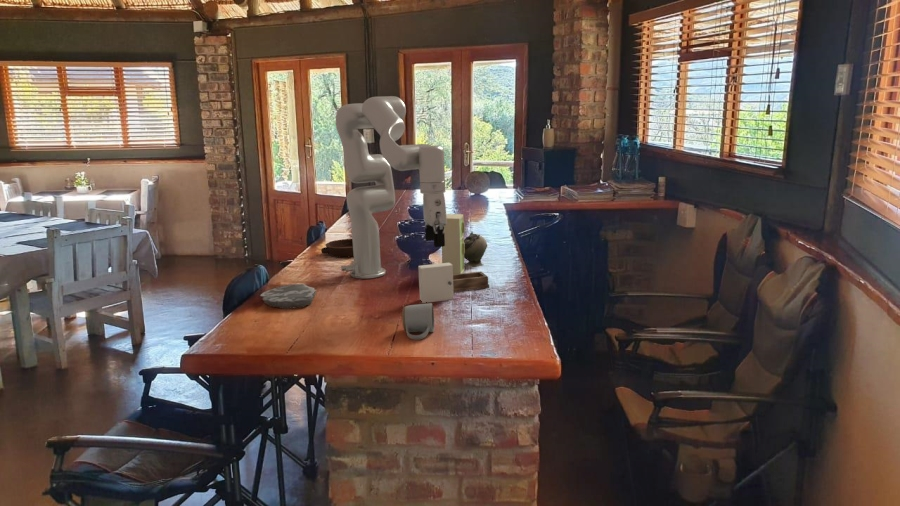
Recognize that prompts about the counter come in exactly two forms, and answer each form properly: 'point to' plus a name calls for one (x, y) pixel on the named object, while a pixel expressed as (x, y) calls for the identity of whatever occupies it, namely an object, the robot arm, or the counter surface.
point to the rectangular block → (436, 282)
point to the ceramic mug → (418, 320)
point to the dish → (339, 248)
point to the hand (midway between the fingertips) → (435, 243)
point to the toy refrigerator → (454, 242)
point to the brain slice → (289, 296)
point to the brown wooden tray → (470, 281)
